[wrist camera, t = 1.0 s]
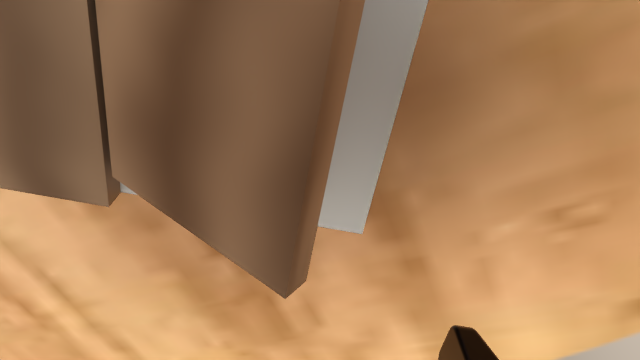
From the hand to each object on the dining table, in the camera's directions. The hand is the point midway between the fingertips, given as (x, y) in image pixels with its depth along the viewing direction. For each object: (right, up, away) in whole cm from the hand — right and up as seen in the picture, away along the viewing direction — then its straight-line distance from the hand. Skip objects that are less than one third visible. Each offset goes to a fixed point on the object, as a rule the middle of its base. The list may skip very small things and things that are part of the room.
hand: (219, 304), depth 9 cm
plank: (-2, +5, +7) cm, 9 cm away
